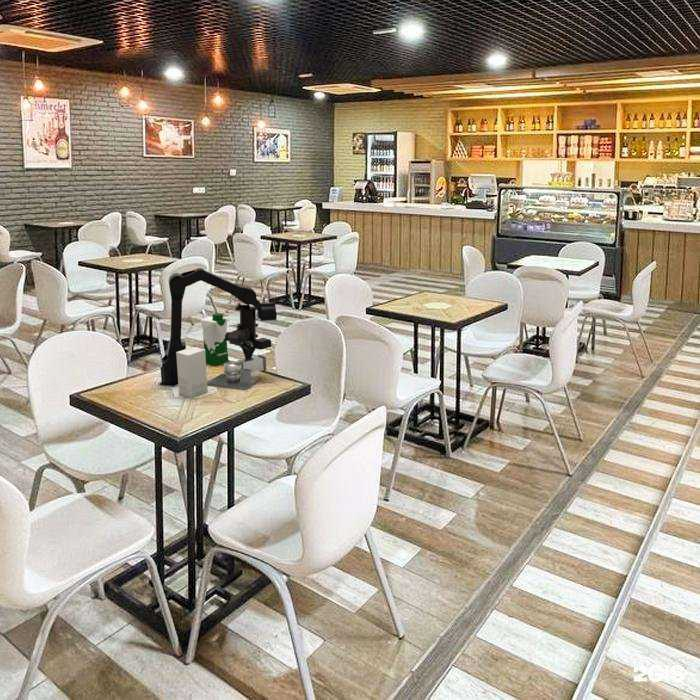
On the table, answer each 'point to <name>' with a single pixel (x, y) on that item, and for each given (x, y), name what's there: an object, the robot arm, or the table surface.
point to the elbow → (246, 365)
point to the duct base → (230, 384)
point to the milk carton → (215, 339)
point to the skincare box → (192, 372)
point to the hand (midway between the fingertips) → (248, 362)
